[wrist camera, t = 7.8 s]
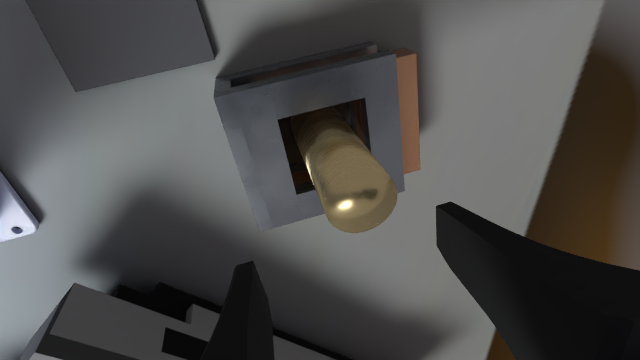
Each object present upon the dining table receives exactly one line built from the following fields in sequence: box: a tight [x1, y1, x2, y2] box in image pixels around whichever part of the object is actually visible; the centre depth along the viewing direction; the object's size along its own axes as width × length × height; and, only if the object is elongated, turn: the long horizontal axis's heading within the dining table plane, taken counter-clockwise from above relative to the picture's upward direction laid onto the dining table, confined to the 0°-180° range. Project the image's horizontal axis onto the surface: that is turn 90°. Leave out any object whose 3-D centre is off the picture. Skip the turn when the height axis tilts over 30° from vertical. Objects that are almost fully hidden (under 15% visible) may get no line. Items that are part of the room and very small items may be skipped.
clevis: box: [214, 42, 420, 232], centre depth 21 cm, size 10×8×4 cm
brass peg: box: [291, 106, 397, 233], centre depth 18 cm, size 3×3×9 cm
